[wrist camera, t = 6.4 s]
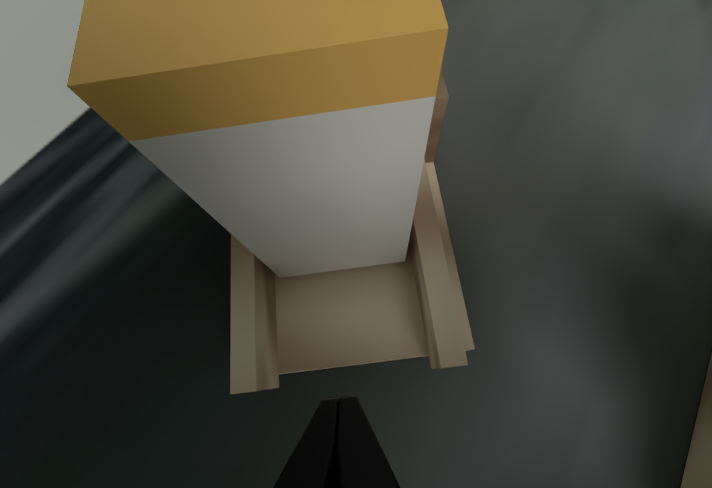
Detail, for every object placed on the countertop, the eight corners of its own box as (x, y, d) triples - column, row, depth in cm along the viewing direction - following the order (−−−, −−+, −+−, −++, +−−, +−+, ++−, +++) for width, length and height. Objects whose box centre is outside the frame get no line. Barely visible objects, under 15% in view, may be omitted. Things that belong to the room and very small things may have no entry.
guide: (468, 364, 14) (515, 359, 9) (248, 391, 15) (173, 401, 9) (423, 152, 18) (439, 63, 13) (245, 178, 18) (190, 100, 13)
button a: (404, 261, 14) (448, 27, 5) (280, 277, 14) (67, 86, 5) (390, 173, 15) (399, -148, 6) (276, 189, 16) (105, -99, 6)
